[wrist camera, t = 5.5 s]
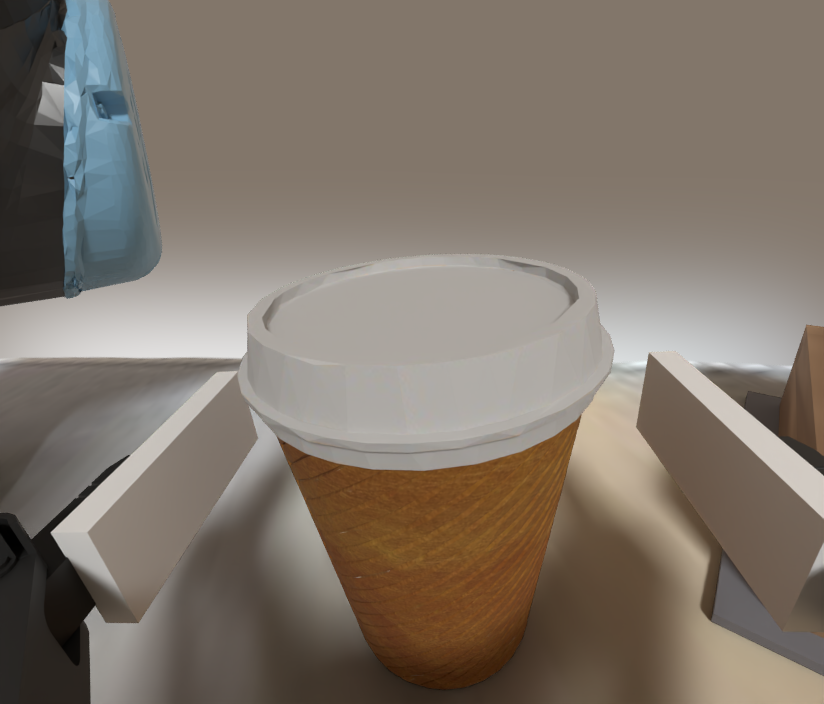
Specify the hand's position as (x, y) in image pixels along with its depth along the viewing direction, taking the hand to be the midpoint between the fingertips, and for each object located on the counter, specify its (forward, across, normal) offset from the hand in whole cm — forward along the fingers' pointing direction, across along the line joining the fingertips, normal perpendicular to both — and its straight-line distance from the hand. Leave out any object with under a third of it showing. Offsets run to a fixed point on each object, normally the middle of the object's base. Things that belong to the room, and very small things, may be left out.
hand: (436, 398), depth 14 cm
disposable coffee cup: (-1, 0, -8) cm, 8 cm away
